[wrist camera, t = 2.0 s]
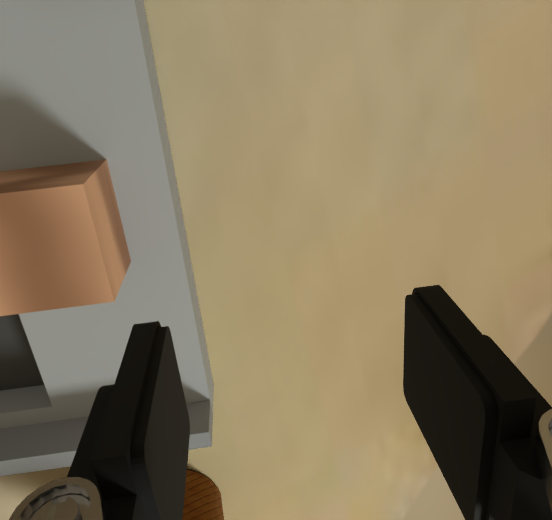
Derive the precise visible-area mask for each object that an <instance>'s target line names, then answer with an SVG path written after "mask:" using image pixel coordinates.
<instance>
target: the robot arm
mask: <svg viewBox="0 0 552 520" xmlns="http://www.w3.org/2000/svg"><path fill="white" fill-rule="evenodd" d="M403 388H404V395H405V398H406V401H407V403H408V405H409V407H410V409H411V411H412V413H413V415H414V417H415V420H416V422H417V424H418V426H419V428H420V430H421V432H422V434H423V436H424V438H425V440H426V442H427V444H428V446H429V448H430V450H431V452H432V454H433V456H434V458H435V460H436V462H437V464H438V466H439V468H440V470H441V472H442V474H443V476H444V478H445V480H446V482H447V484H448V486H449V488H450V490H451V492H452V493H453V496H454V498H455V500H456V502H457V504H458V506H459V508H460V510H461V512H462V514H463V516H464V518H465V520H552V407H551V406H550V405H549V404H548V402H547V401H546V400H545V399H544V398H543V397H542V396H541V395H540V393H539V392H538V391H537V390H536V389H535V388H534V387H533V386H532V384H531V383H530V382H529V381H528V380H527V379H526V378H525V376H524V375H523V374H522V373H521V372H520V371H519V370H518V368H517V367H516V366H515V365H514V364H513V363H512V362H511V360H510V359H509V358H508V357H507V356H506V355H505V354H504V353H503V351H502V350H501V349H500V348H499V347H498V346H497V345H496V343H495V342H494V341H493V340H492V339H491V338H490V337H488V336H487V335H482V334H481V332H480V331H479V330H478V329H477V328H476V327H475V325H474V324H473V323H472V322H471V321H470V320H469V319H468V317H467V316H466V315H465V314H464V313H463V312H462V310H461V309H460V308H459V307H458V306H457V305H456V303H455V302H454V301H453V300H452V299H451V298H450V297H449V295H448V294H447V293H446V292H445V291H444V290H443V288H442V287H441V286H439V285H434V286H427V287H419V288H414V290H413V292H412V295H407V296H406V298H405V332H404V379H403ZM189 438H190V421H189V414H188V410H187V405H186V401H185V396H184V391H183V387H182V382H181V377H180V373H179V368H178V364H177V359H176V354H175V350H174V345H173V340H172V336H171V331H170V328H169V326H165V327H161V324H160V322H159V321H155V322H147V323H140V324H134V325H133V327H132V330H131V333H130V336H129V340H128V343H127V346H126V349H125V352H124V355H123V359H122V362H121V365H120V368H119V371H118V374H117V378H116V381H115V384H112V385H105V386H102V387H100V388H99V390H98V392H97V394H96V397H95V400H94V403H93V406H92V408H91V411H90V414H89V417H88V420H87V422H86V425H85V428H84V431H83V434H82V436H81V439H80V442H79V445H78V448H77V450H76V453H75V456H74V459H73V462H72V465H71V467H70V470H69V473H68V476H67V477H66V478H62V479H58V480H54V481H52V482H50V483H47V484H45V485H43V486H41V487H39V488H38V489H37V490H35V491H34V492H32V493H31V494H30V495H28V496H27V497H26V498H25V499H24V500H23V501H22V502H21V503H20V504H19V505H18V506H17V507H16V509H15V510H14V512H13V514H12V515H11V517H10V519H9V520H182V518H183V507H184V495H185V484H186V472H187V461H188V449H189Z"/></svg>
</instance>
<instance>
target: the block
mask: <svg viewBox="0 0 552 520" xmlns="http://www.w3.org/2000/svg"><path fill="white" fill-rule="evenodd" d="M130 263H131V259H130V255H129V251H128V247H127V242H126V238H125V234H124V230H123V226H122V222H121V217H120V213H119V209H118V205H117V201H116V196H115V192H114V188H113V184H112V180H111V176H110V171H109V167H108V163H107V159H106V160H97V161H88V162H79V163H70V164H62V165H53V166H44V167H35V168H26V169H17V170H8V171H0V316H6V315H14V314H22V313H30V312H38V311H45V310H53V309H61V308H69V307H77V306H85V305H93V304H101V303H109V302H114V301H115V299H116V297H117V294H118V292H119V289H120V287H121V284H122V282H123V280H124V277H125V275H126V272H127V270H128V268H129V265H130Z"/></svg>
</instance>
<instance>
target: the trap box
mask: <svg viewBox="0 0 552 520" xmlns="http://www.w3.org/2000/svg"><path fill="white" fill-rule="evenodd" d="M106 159H107V163H108V167H109V171H110V176H111V180H112V184H113V188H114V192H115V196H116V201H117V205H118V209H119V213H120V217H121V222H122V226H123V230H124V234H125V238H126V242H127V247H128V251H129V255H130V259H131V263H130V265H129V268H128V270H127V272H126V275H125V277H124V280H123V282H122V284H121V287H120V289H119V292H118V294H117V297H116V299H115V301H114V302H109V303H101V304H93V305H85V306H77V307H69V308H61V309H53V310H45V311H38V312H30V313H22V314H14V315H6V316H0V476H7V475H14V474H21V473H28V472H35V471H42V470H49V469H56V468H63V467H70V466H71V465H72V462H73V459H74V456H75V453H76V450H77V448H78V445H79V442H80V439H81V436H82V434H83V431H84V428H85V425H86V422H87V420H88V417H89V414H90V411H91V408H92V406H93V403H94V400H95V397H96V394H97V392H98V390H99V388H100V387H102V386H105V385H112V384H115V381H116V378H117V374H118V371H119V368H120V365H121V362H122V359H123V355H124V352H125V349H126V346H127V343H128V340H129V336H130V333H131V330H132V327H133V325H134V324H140V323H147V322H155V321H159V322H160V324H161V327H165V326H169V328H170V331H171V336H172V340H173V345H174V350H175V354H176V359H177V364H178V368H179V373H180V377H181V382H182V387H183V391H184V396H185V401H186V405H187V410H188V414H189V421H190V438H189V449H188V450H190V449H197V448H204V447H211V446H212V420H213V387H214V385H213V380H212V374H211V369H210V363H209V358H208V352H207V347H206V341H205V336H204V330H203V325H202V319H201V314H200V309H199V303H198V298H197V292H196V287H195V281H194V276H193V270H192V265H191V259H190V254H189V248H188V243H187V237H186V232H185V227H184V221H183V216H182V210H181V205H180V199H179V194H178V188H177V183H176V177H175V172H174V166H173V161H172V156H171V150H170V145H169V139H168V134H167V128H166V123H165V117H164V112H163V106H162V101H161V95H160V90H159V84H158V79H157V74H156V68H155V63H154V57H153V52H152V46H151V41H150V35H149V30H148V24H147V19H146V13H145V8H144V3H143V0H0V171H8V170H17V169H26V168H35V167H44V166H53V165H62V164H70V163H79V162H88V161H97V160H106Z"/></svg>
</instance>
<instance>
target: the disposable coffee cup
mask: <svg viewBox="0 0 552 520" xmlns="http://www.w3.org/2000/svg"><path fill="white" fill-rule="evenodd" d="M182 520H224V516H223V509H222V500H221V494H220V491H219V489H218V487H217V486H216V485H215V484H214V482H213V481H211V480H210V479H209V478H208V477H206V476H204V475H202V474H200V473H197V472H194V471H190V470H187V472H186V484H185V495H184V507H183V518H182Z"/></svg>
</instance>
